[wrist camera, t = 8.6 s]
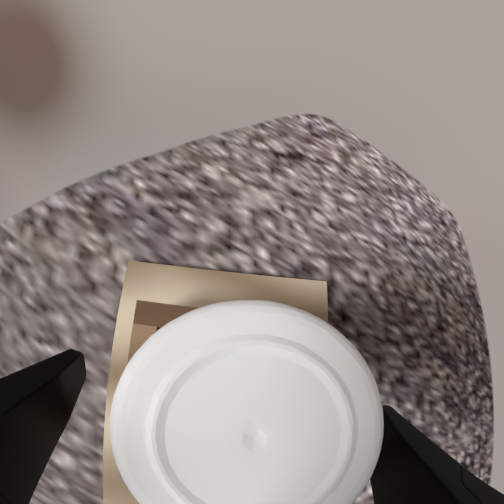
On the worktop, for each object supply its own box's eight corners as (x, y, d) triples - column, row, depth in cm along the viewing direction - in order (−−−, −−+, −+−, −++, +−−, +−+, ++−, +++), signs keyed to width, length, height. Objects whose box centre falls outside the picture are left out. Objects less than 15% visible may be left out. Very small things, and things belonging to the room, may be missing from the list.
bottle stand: (315, 514, 14) (341, 537, 10) (107, 499, 12) (83, 522, 8) (322, 285, 21) (347, 259, 17) (131, 265, 19) (115, 233, 16)
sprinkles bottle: (214, 350, 17) (230, 237, 5) (276, 396, 16) (433, 388, 4) (164, 408, 15) (49, 440, 3) (228, 456, 14) (283, 590, 2)
